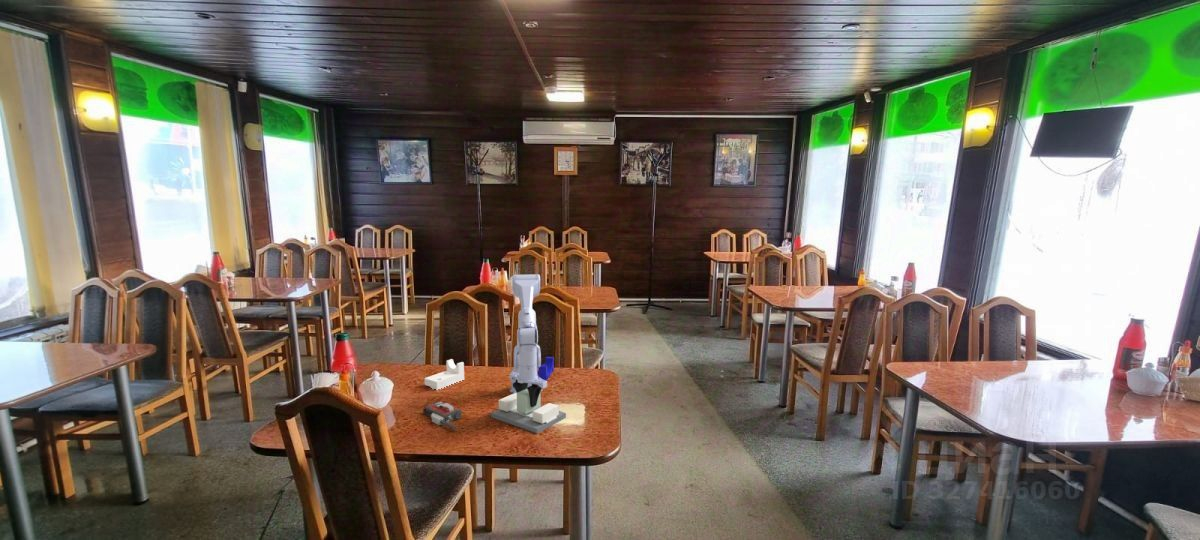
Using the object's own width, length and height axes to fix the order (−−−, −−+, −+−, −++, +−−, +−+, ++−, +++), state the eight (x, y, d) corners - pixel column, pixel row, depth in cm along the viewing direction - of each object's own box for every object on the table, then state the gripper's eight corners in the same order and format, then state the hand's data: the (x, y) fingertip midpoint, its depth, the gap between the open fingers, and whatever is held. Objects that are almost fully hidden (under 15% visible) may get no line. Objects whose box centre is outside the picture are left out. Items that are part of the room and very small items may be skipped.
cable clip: (543, 370, 208) (543, 356, 208) (553, 371, 208) (553, 357, 207) (535, 380, 197) (534, 365, 196) (546, 381, 196) (546, 366, 195)
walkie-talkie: (417, 416, 164) (453, 434, 152) (416, 403, 163) (453, 420, 151) (440, 407, 171) (477, 424, 159) (439, 395, 170) (477, 411, 158)
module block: (516, 410, 161) (516, 392, 160) (531, 403, 167) (531, 386, 166) (526, 413, 159) (525, 395, 158) (540, 406, 165) (540, 389, 164)
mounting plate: (491, 417, 163) (490, 402, 162) (520, 403, 174) (520, 389, 174) (537, 433, 152) (537, 418, 151) (565, 417, 163) (565, 403, 163)
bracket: (452, 377, 200) (451, 359, 199) (464, 380, 196) (463, 362, 195) (424, 387, 189) (424, 367, 188) (437, 391, 185) (436, 371, 184)
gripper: (502, 363, 161) (503, 403, 163) (536, 372, 153) (536, 414, 155) (517, 357, 167) (518, 396, 169) (551, 365, 159) (551, 406, 161)
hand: (528, 404), depth 162 cm, fingers closed on module block, 4 cm apart
